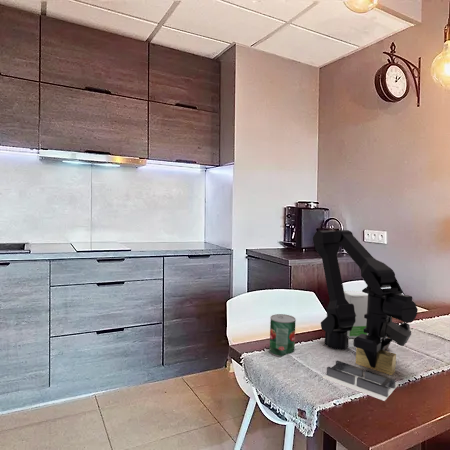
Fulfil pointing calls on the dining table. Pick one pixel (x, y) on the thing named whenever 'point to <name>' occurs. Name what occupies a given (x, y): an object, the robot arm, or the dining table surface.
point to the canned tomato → (282, 334)
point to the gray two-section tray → (363, 383)
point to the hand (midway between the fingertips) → (374, 365)
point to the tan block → (378, 361)
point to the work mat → (360, 387)
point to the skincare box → (357, 311)
